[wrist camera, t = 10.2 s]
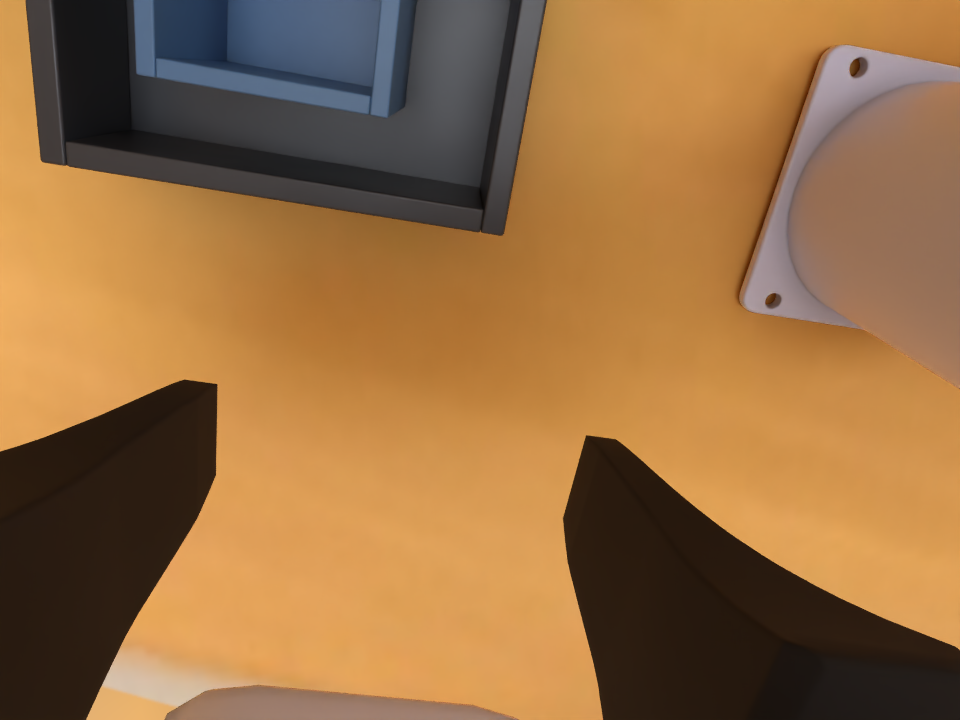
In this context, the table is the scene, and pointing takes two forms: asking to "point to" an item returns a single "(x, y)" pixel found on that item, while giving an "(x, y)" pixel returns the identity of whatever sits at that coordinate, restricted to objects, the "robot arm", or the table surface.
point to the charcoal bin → (300, 117)
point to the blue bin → (283, 49)
